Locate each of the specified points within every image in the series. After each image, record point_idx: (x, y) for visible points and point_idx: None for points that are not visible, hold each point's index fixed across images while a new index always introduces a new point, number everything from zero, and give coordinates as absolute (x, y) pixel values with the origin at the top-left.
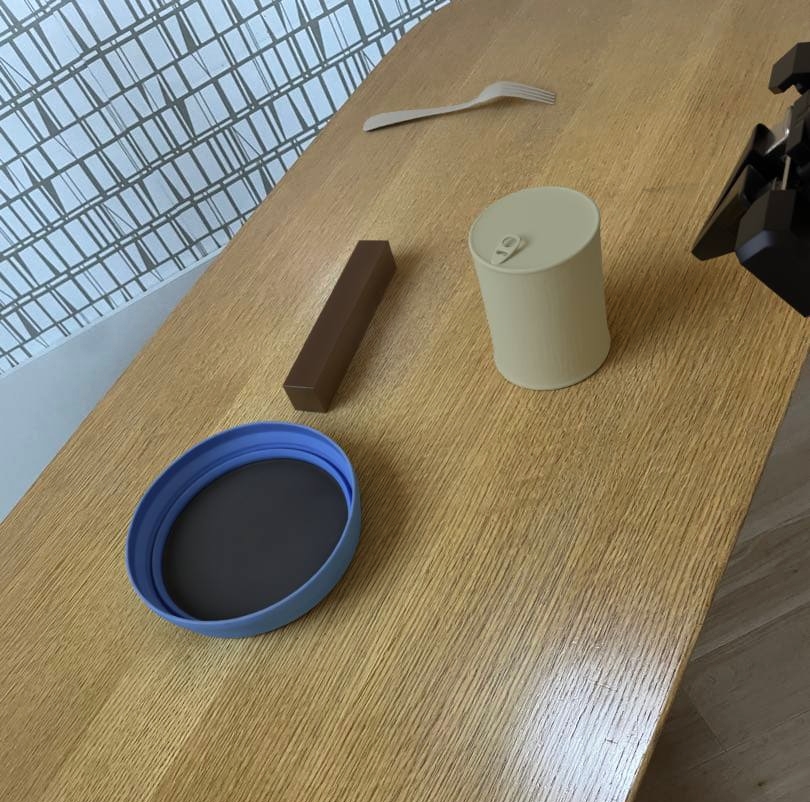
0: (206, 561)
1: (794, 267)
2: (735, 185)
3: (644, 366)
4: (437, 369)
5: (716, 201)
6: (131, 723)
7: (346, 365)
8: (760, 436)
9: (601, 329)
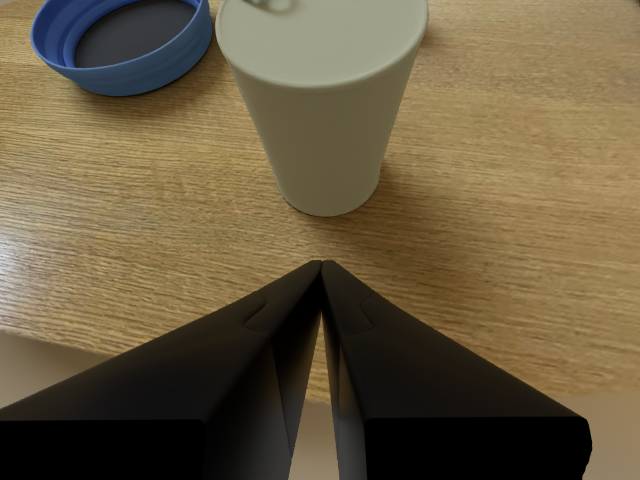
0: (124, 23)
1: None
2: (208, 363)
3: (309, 251)
4: None
5: (364, 285)
6: (29, 35)
7: None
8: None
9: (313, 196)
